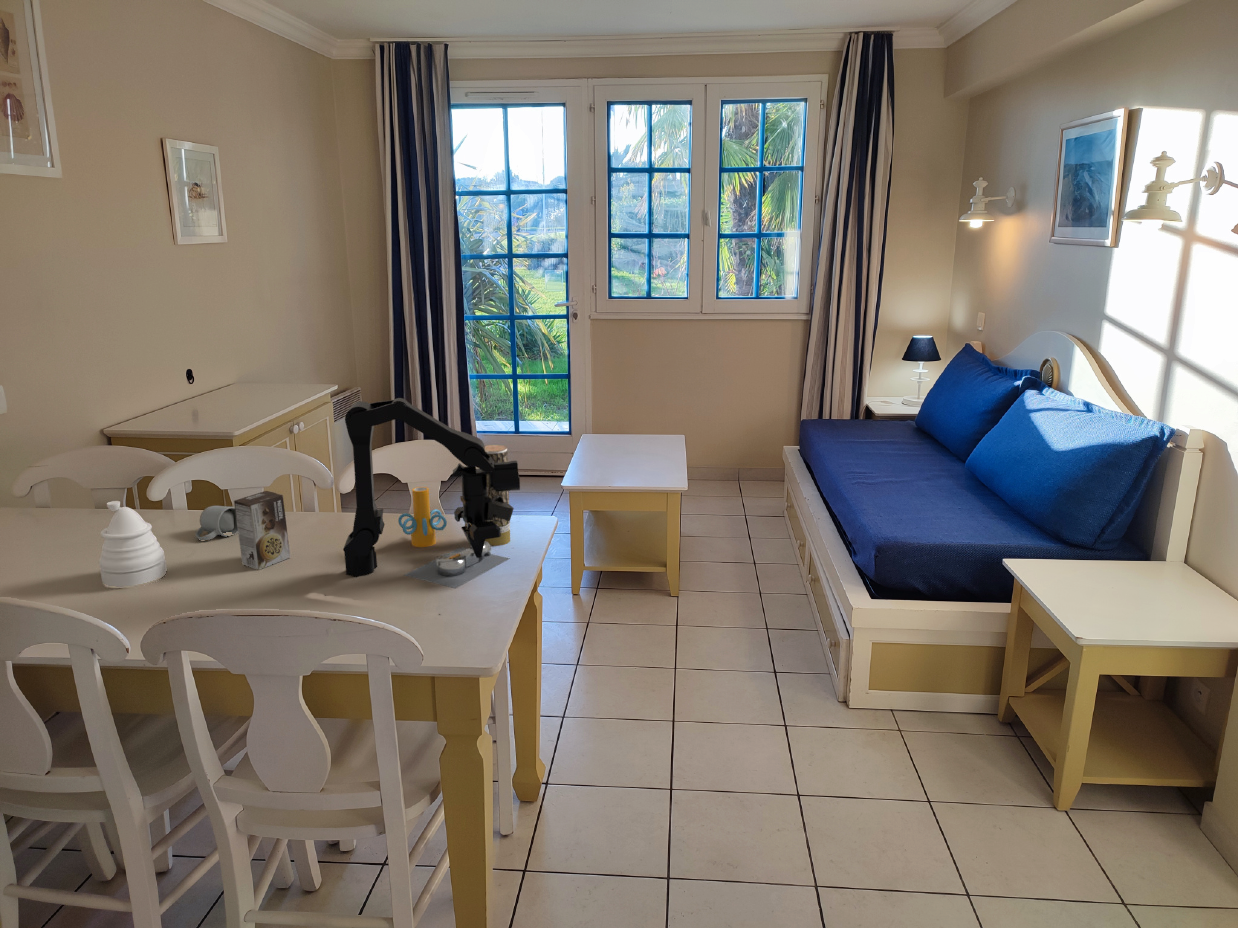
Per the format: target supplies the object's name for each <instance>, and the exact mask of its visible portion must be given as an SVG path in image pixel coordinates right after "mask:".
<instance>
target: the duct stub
mask: <svg viewBox="0 0 1238 928" xmlns="http://www.w3.org/2000/svg"><path fill="white" fill-rule="evenodd" d="M491 550H492V546H490V544H489V543H488V542H486V541H485V543H484V547H483V551H482V560H483V559H485V556H490V555H491V554H492V553H491ZM484 555H485V556H484Z"/></svg>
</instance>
